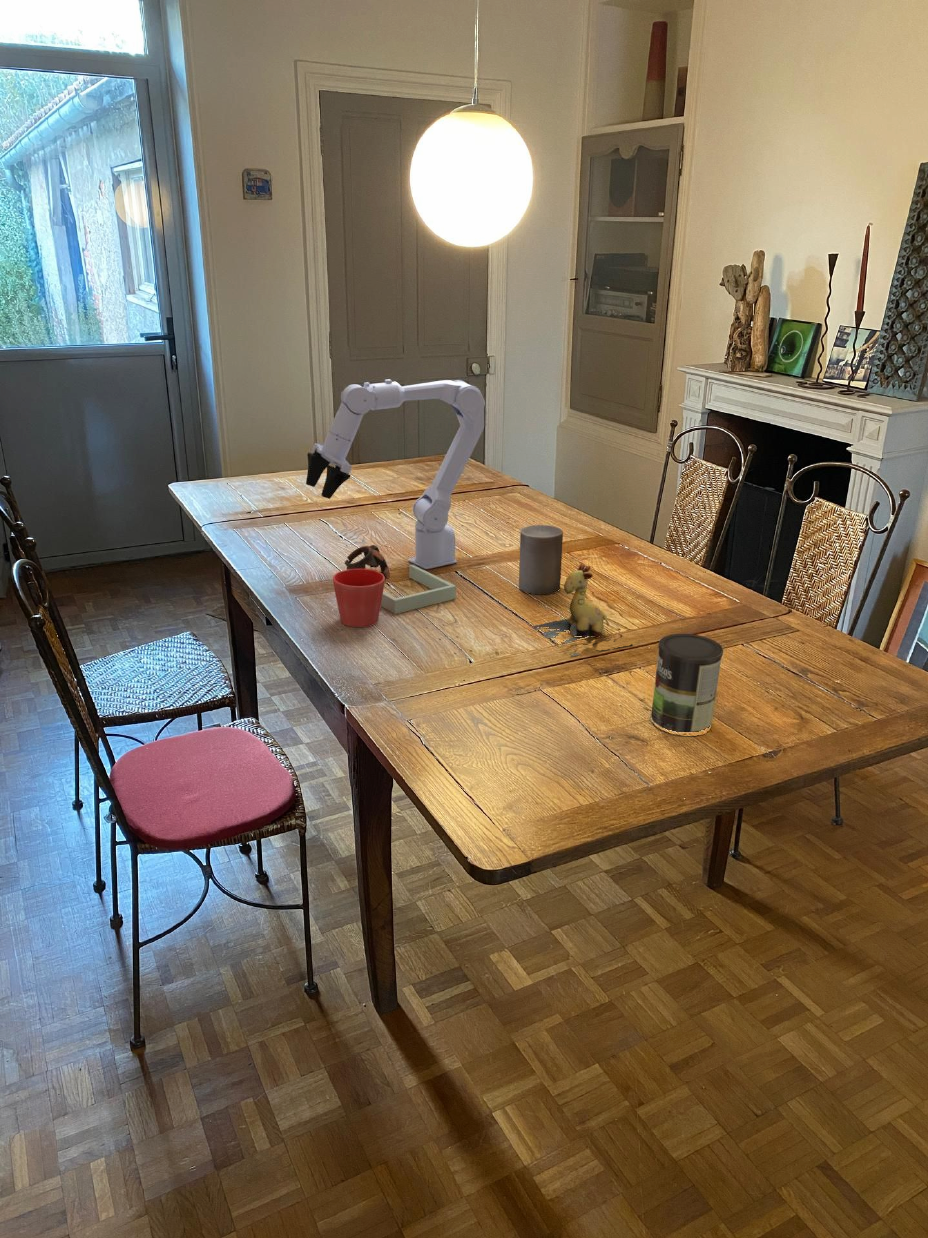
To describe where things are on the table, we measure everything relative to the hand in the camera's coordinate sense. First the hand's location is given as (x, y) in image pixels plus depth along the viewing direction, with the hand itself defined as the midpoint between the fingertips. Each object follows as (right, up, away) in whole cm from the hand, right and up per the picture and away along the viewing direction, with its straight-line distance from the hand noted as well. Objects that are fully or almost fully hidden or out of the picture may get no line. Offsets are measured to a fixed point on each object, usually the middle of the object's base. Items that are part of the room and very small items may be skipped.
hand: (317, 491), depth 215 cm
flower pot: (+12, -30, -19) cm, 37 cm away
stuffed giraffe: (+59, -33, -23) cm, 71 cm away
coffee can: (+70, -47, -57) cm, 101 cm away
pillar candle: (+51, -22, +1) cm, 55 cm away
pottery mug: (+11, -19, +7) cm, 23 cm away
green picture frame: (+20, -24, -5) cm, 31 cm away
